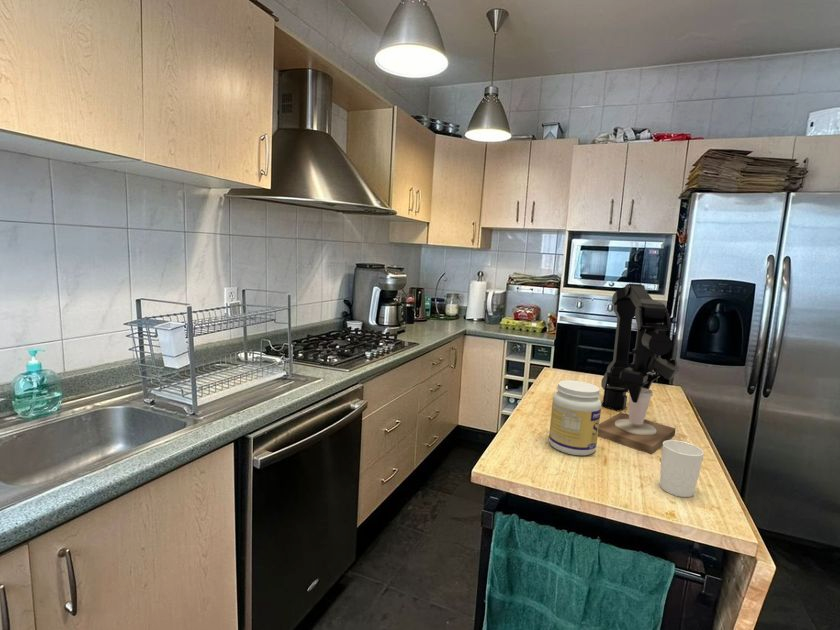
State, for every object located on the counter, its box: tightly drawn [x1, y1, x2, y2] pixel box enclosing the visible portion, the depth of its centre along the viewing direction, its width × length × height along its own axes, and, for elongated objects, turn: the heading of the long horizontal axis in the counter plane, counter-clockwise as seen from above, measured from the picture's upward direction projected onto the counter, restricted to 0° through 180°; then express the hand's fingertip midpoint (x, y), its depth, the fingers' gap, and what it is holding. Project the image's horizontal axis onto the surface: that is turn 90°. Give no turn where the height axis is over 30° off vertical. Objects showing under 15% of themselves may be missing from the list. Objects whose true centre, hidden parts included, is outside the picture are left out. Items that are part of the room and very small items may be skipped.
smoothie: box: [627, 388, 654, 424], centre depth 130 cm, size 6×6×14 cm
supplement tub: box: [548, 379, 602, 456], centre depth 119 cm, size 12×12×17 cm
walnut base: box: [598, 411, 677, 455], centre depth 131 cm, size 16×20×3 cm
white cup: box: [659, 439, 705, 498], centre depth 101 cm, size 8×8×10 cm
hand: (638, 400), depth 130 cm, fingers closed on smoothie, 6 cm apart
